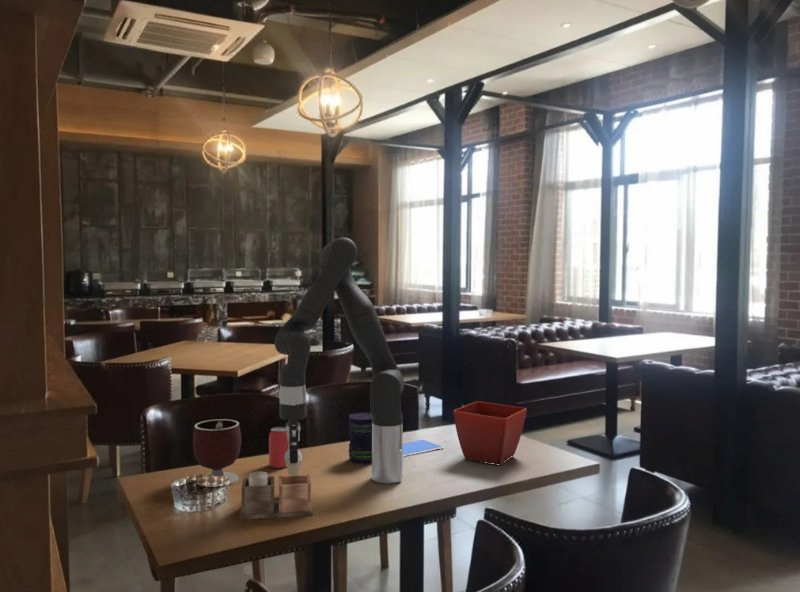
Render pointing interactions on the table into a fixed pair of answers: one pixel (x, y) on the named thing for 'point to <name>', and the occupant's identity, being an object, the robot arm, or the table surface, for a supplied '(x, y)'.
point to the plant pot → (489, 430)
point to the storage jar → (360, 438)
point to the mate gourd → (217, 445)
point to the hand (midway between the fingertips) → (293, 459)
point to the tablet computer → (418, 447)
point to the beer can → (278, 447)
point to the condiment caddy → (261, 496)
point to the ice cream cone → (293, 467)
